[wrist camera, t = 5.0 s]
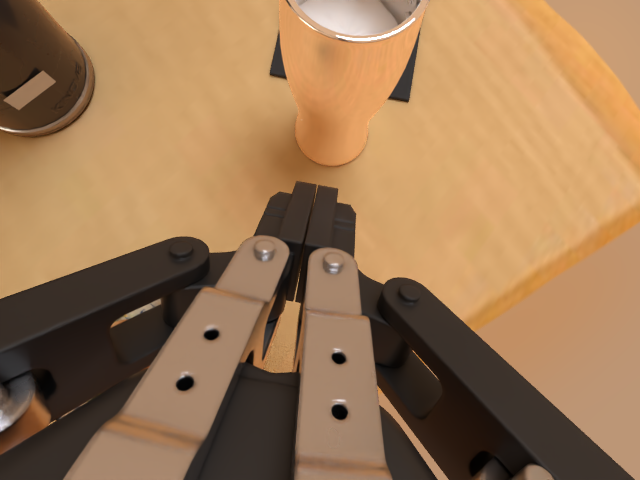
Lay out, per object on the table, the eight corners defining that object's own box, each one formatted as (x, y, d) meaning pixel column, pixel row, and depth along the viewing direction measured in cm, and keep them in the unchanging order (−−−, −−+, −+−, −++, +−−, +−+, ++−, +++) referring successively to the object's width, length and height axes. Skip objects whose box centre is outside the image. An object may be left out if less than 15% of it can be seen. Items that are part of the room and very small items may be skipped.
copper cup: (344, 79, 30) (383, -125, 15) (388, 146, 30) (471, 0, 15) (274, 117, 29) (242, -60, 15) (316, 186, 29) (328, 75, 14)
